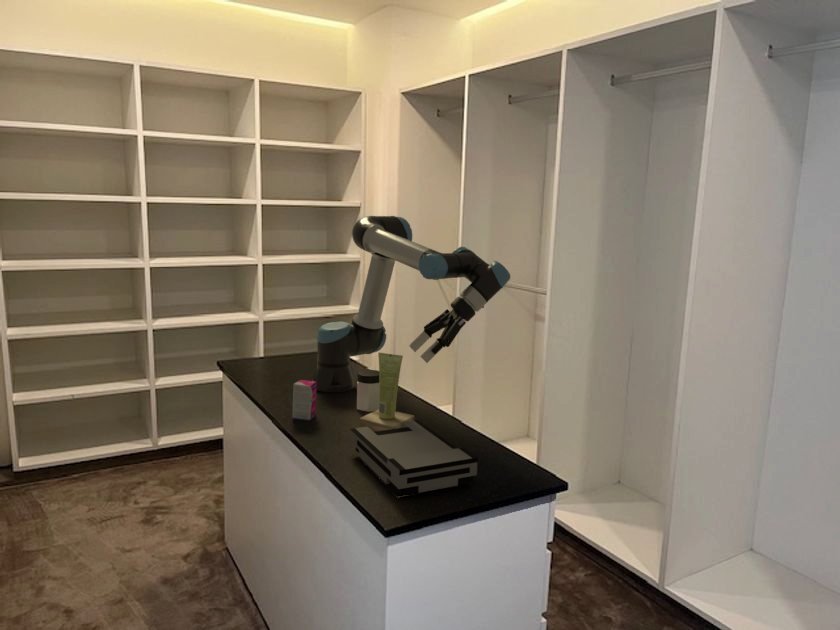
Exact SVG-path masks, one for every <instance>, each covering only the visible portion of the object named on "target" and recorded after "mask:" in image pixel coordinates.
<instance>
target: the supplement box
mask: <svg viewBox="0 0 840 630" xmlns="http://www.w3.org/2000/svg"><path fill="white" fill-rule="evenodd" d="M292 385H293V388H292V389H293V391H292V414H291V415H292V418H291V420H293V421H300V422H301V421H302V422H310V421H311V420H312V419H313V418H315V417H316V416H317V415H316V413H317V412H316V409H317V390H316V388H317V382H315V381H312V380H306V379H305V380H304V379H300V380H298V381H296V382H294V383H293V384H292Z"/></svg>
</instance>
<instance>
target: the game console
mask: <svg viewBox="0 0 840 630" xmlns="http://www.w3.org/2000/svg"><path fill="white" fill-rule="evenodd" d="M348 436H349V437H348V439H349V442H350V443H351V444H352V445H353V446H354V447H355V451H356V452H357V453H358V459H359V460H360V462H361V461H363V463H365V464H366V466H367V467H368V468H369V469H370V470H371V471H372V472H373V473H374V474H375V475H376V476H377V477H378V478H380V480H381V481H382V482H383V483H384V484H385V485H386V486H387V487H388V488H389V489H390V490H391V491H392V492H393V493H394V494H395V495H396V496H397V497H398V496H403V495H412V494H417V495H419V494H418V493H421V494H422V493H424V492H429V491H435V490H440V489H447V488H449V489H453V487H454V488H458V487H463V486H468V485H469V484H473V482H474V481H473V480H474V476H477V475H478V456H477V455H475V454H473V453H472V452H470V451H469V449H466V448H465V447H462V446H461V447H457V446H455V445H454V444H452V443H451V442H450V441H449V440H447V439H446V438H444V437H443V436H441V435H440V434H438V433H437V432H436V431H435V430H433V429H432V428H430V427H428V426H427V425H426V424H424V423H423V422H422V421H420V420H419V419H414V421H407V422H402V428H397V429H389V430H382V431H374V432H373V431H372V430H371V429H370V428H368V427H360V428H359V427H355V428H349V435H348ZM363 463H362V464H363ZM366 466H365V467H366ZM367 467H366V468H367ZM368 468H367V469H368ZM369 469H368V470H369ZM370 470H369V471H370ZM371 471H370V472H371ZM372 472H371V473H372ZM373 473H372V474H373ZM374 474H373V475H374ZM375 475H374V476H375ZM377 477H376V478H377ZM378 478H377V479H378ZM380 480H379V481H380ZM381 481H380V482H381ZM382 482H381V483H382ZM383 483H382V484H383ZM384 484H383V485H384ZM385 485H384V486H385ZM386 486H385V487H386ZM387 487H386V488H387ZM388 488H387V489H388ZM389 489H388V490H389ZM390 490H389V491H390ZM391 491H390V492H391ZM392 492H391V493H392ZM393 493H392V494H393ZM394 494H393V495H394ZM395 495H394V496H395ZM396 496H395V497H396ZM412 496H413V495H412ZM397 497H396V498H397Z"/></svg>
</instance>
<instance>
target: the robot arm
mask: <svg viewBox="0 0 840 630" xmlns="http://www.w3.org/2000/svg"><path fill="white" fill-rule="evenodd" d="M351 237H352V240H353V242H354V244H355V245H356V246H357V247H358V248H359V249H361V250H363V251H365V252H367V253H370V254H371V257H370V263H369V267H368V271H367V275H366V279H365V283H364V288H363V291H362V295H361V299H360V303H359V307H358V313H356V314H355V315H353V317H352V320H351V324H350V323H349V322H347V321H330V322H328V323H324V324H322V325H320V326H319V328H318V330H317V337H316V340H317V363H316V365H317V366H316V368H315V372H314V375H313V378H312V380H311V381H315V382H317V388H316V391H318V392H323V393H342V392H343V393H344V392H347V391H351V390H353V389H354V387H355V380H354V377H353V374H352V370H351V367H350V358H352V357H356V356H361V355H371V354H373V353H378V352H380V351H381V350H382V349H383V348H384V346H385V344H386V341H387V333H386V332H387V331H386V328H385V326H384V322H383V321H382V319H381V318H382V313H383V310H384V307H385V302H386V298H387V295H388V292H389V291H388V290H389V287H390V284H391V283H390V282H391V279H392V276H393V271H394V267H395V264H396V263H395V262H398V263H400V264H403V265H406V266H407V267H410V268H411V269H413V270H414V269H415V270H417V271H418V272H420V274H421V276H422V277H423V278H425V279H426V280H434V281H437V280H445V279H459V278H465V279H466V280H468V282H470V284H469V285H468V286H467V287H466V288H464V290H463V291H462V292H460V294H459V295H460V296H457V297H456V298H455V299H454V300H453V301H452V302H451V303H450V307H451V308H452V310H449V309H448V308H447V309H446V310H444V311H443V312H442V313H441V314H440V315H438V316H436V318H434V319H433V320H431V321H430V322H429V323H427V324H426V325H424V326H423V331H422V332H421V333H420V334H419V335H418V336H417V337H416V338H415V339H414V340H413V341H412V342H411V343H410V344H409V345H408V346H409V347H410V349H412V351H413V352H414V353H417V351H418V350H419V349H420V348H421V347H422V346H423V345H424V344H425V343H426V342H427V341H428V340H429V339H431V338H432V337H433V334H435V333H437V332H439V331H441V330H442V333H441V335H440V336H439V337H438V338H435V339H436V340H435V341H434V342H433V343H432V344H431V345H430V346H429V347H428V348H427V349H426V350H425V351H424V352H423V353H422V354H421V355H420V356H419V357H420V358H421V359H422V360H423V361H424V362H425V363H426V364H428V363H430V361H431V360H433V358H434V357H435V356H436V355H437V354H438V353H439V352H440V351H441V350H442V349H443V348H449V347H450V346H451V344H452V343H453V341H454V340H455V338H457V335H458V334H459V333H460V331H461V330H462V328H463V327H464V326H465V325H466V324H467V322H469V321H470V320H472V318H473V317H474V316H476V312H477V313H478V312H480V310H481V309H484V308H485V305H487V303H488V302H489V301H490V300H492V299H493V297H494V296H495V295H497V294H498V292H500V290H502V289H503V288H504V287H505V285H506V284H507V283H508V282H509V281H510V280H511V273H510V272H509V270H508V269H507V268H506V267H505V266H504V265H503V264H502V263H501V262H498V260H497V261H496V260H494V261H492V262H491V263H490V264H489V263H487V262H486V261H485V260H484V259H482V258H481V257H480V256H479V255H477V254H476V253H475V252H474V251H472V250H471V249H470V248H468V247H465V246H459V247H458V248H456V249H454V250H453V251H452V252H450V253H449V252H446V253H443V252H440V251H437V250H434V249H433V248H430V247H428V246H424V245H422V244H419V243H417V242H414V241H413V231H412V227H411V224H410V223H409V221H408V220H407V219H405V217H401V216H395V215H390V216H389V215H386V216H385V215H366V216H364V217H363V216H362V217H361V218H360V219H358V220H357V221H356V222H355V224H354V226H353V227H352V231H351Z"/></svg>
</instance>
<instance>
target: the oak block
mask: <svg viewBox="0 0 840 630" xmlns="http://www.w3.org/2000/svg"><path fill="white" fill-rule="evenodd" d="M358 420H359V421H358V428H360V427H368V428H370V429H371V430H372V431H373V432H374V431H382V430H389V429H397V428H402V422H407V421H415V415H413V414H409V413H406V412H405V413H404V412H400V411H395V417H394V418H392V419H383V418H380V417H379V409H378V410H376V411H371V412H369V413H367V414H365V415H364V416H361V417H360V418H358Z"/></svg>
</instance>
